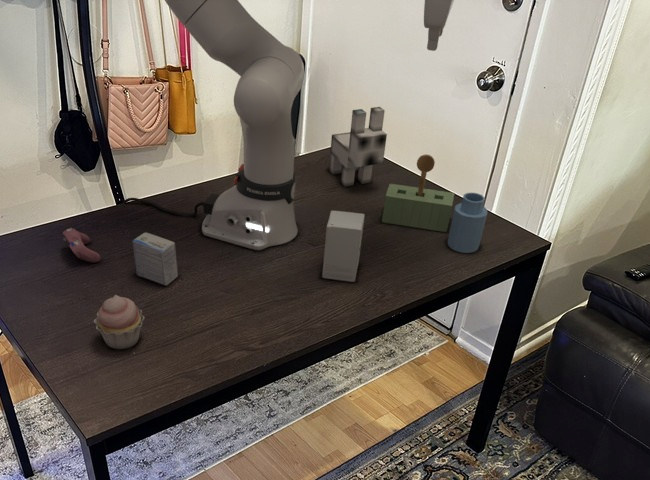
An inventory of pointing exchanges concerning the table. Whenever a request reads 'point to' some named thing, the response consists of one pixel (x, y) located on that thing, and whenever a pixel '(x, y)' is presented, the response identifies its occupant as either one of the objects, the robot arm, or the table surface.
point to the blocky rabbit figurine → (359, 147)
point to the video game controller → (80, 245)
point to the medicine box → (155, 258)
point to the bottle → (468, 224)
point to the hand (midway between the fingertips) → (434, 42)
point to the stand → (417, 207)
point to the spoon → (424, 170)
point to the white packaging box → (342, 245)
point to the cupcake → (119, 322)
